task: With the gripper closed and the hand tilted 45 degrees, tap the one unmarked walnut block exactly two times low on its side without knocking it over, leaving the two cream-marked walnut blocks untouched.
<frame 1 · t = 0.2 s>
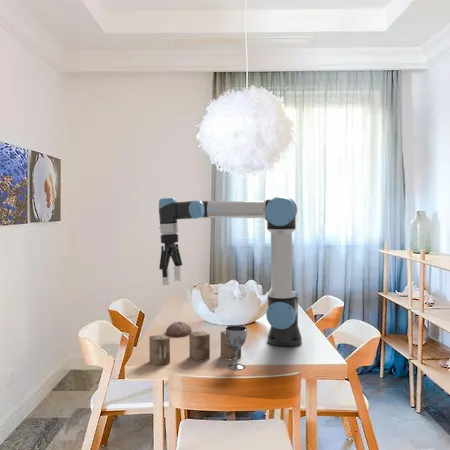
hand: (172, 282, 206), 27 cm above the table, tool pointing down, fingers open, 13 cm apart
decorative stone: (178, 334, 225), on the table
wine glass: (235, 367, 181), on the table
unmarked block: (199, 358, 191), on the table
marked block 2: (230, 356, 192), on the table
marked block 1: (159, 362, 186), on the table
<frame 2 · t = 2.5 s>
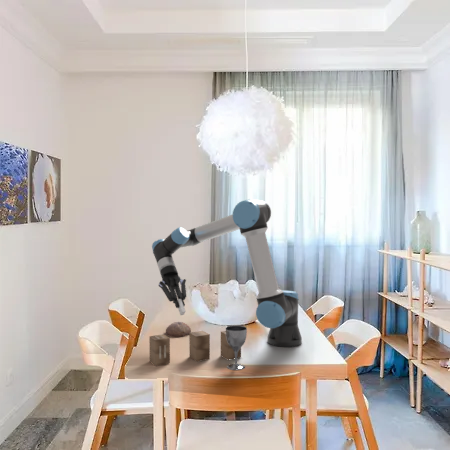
hand: (183, 313, 204), 15 cm above the table, tool tilted 45°, fingers closed
nothing on the table moved.
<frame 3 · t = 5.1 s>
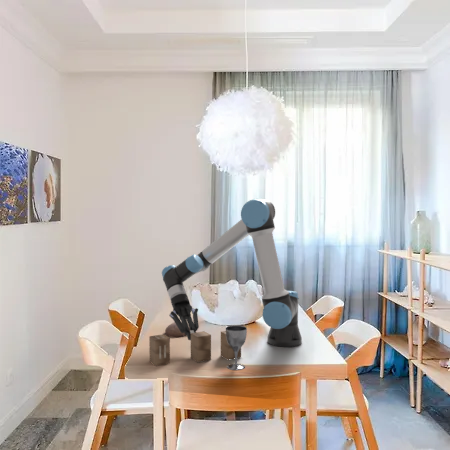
hand: (195, 346, 193), 4 cm above the table, tool tilted 45°, fingers closed
unmarked block: (200, 358, 190), on the table, touching gripper
everything else where it was.
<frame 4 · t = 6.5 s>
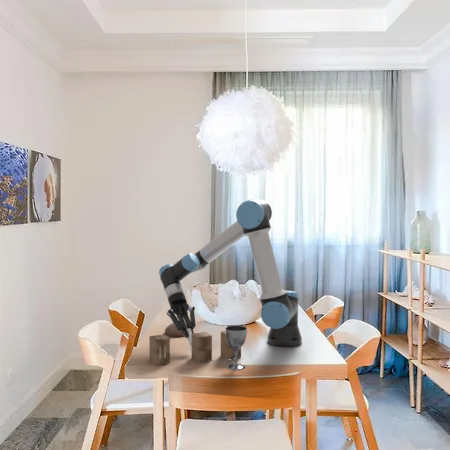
hand: (192, 343, 196), 4 cm above the table, tool tilted 45°, fingers closed
unmarked block: (201, 359, 189), on the table
everything else where it was.
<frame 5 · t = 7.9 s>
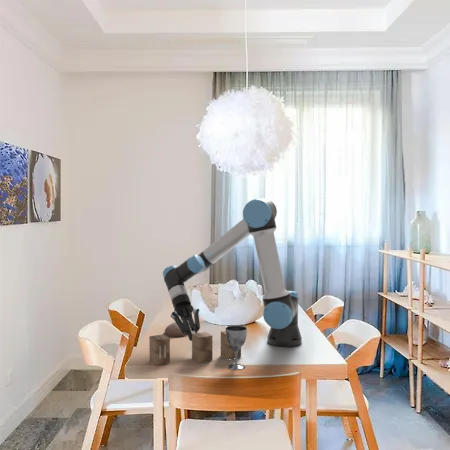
hand: (197, 346, 192), 4 cm above the table, tool tilted 45°, fingers closed
unmarked block: (202, 359, 189), on the table, touching gripper
everything else where it was.
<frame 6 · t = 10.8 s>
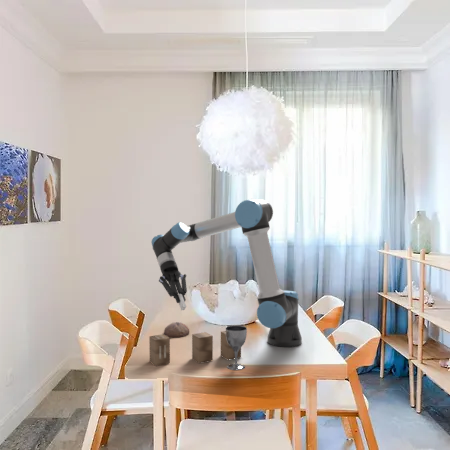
hand: (183, 308, 202), 17 cm above the table, tool tilted 45°, fingers closed
unmarked block: (202, 359, 189), on the table
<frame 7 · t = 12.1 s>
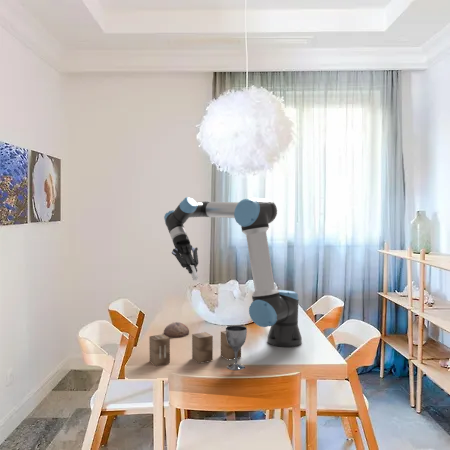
hand: (195, 278, 213), 28 cm above the table, tool tilted 45°, fingers closed
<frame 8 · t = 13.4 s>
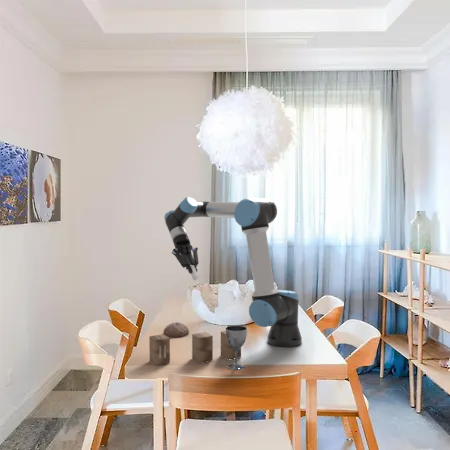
hand: (195, 278, 213), 28 cm above the table, tool tilted 45°, fingers closed
at the end: unmarked block moved 2.4 cm from its start; unmarked block tilted 0°; marked block 1 moved 0.1 cm from its start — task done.
